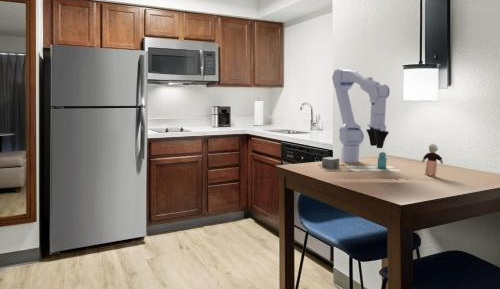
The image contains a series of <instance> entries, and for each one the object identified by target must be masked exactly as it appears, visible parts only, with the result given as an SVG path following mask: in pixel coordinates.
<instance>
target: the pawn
mask: <svg viewBox="0 0 500 289" xmlns="http://www.w3.org/2000/svg"><path fill="white" fill-rule="evenodd" d="M387 160H388V158H387V153H386V152H384V151H381V152H379V153H378V157H377V165H376V166H377V168H378V169H386V166H387Z"/></svg>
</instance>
